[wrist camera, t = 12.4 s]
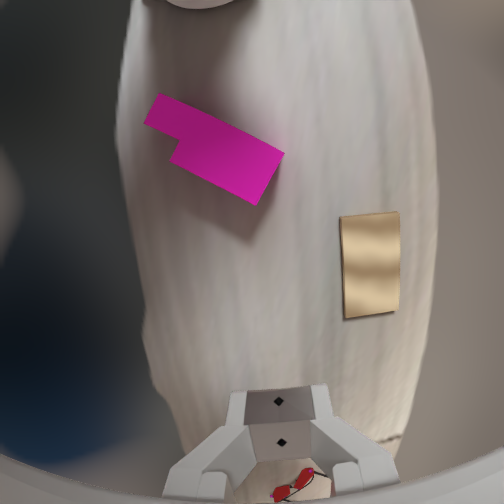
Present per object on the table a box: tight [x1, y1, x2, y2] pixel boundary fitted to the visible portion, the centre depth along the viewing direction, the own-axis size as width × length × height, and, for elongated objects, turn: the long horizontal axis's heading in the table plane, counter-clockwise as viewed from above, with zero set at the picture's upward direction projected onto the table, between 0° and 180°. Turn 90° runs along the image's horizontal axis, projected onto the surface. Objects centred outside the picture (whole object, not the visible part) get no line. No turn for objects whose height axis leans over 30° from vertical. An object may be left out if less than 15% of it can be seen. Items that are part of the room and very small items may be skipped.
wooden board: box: [340, 211, 400, 318], centre depth 42 cm, size 14×8×1 cm, turn 8°
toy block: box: [144, 93, 285, 206], centre depth 36 cm, size 15×6×8 cm, turn 62°
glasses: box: [270, 468, 329, 503], centre depth 55 cm, size 14×16×5 cm
